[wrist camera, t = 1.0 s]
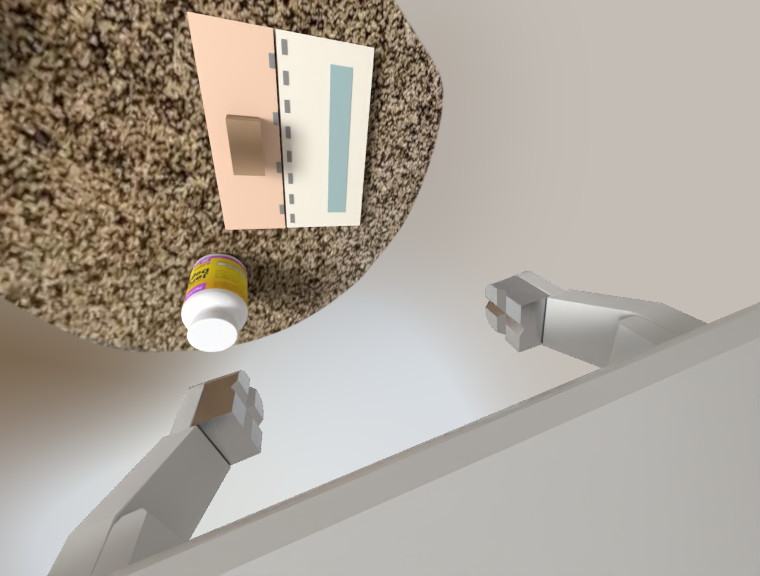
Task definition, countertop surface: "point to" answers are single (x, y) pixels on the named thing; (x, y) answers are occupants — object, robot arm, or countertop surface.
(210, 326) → the supplement bottle
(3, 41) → the countertop surface
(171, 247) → the countertop surface
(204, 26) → the ticket stub
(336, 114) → the ticket
